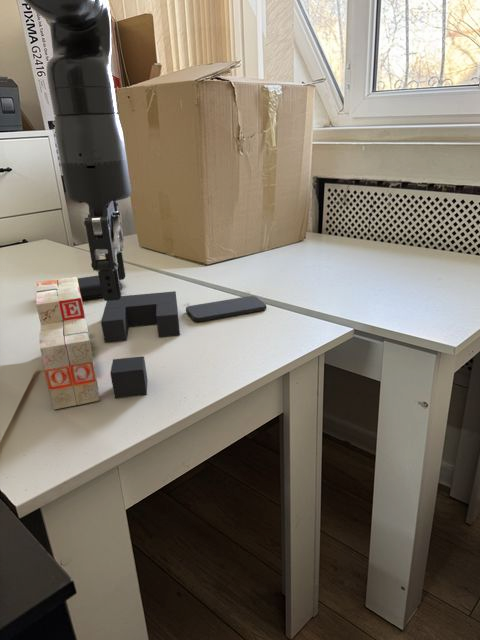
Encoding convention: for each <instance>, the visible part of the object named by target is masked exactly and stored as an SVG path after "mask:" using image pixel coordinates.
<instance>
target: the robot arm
mask: <svg viewBox="0 0 480 640" xmlns="http://www.w3.org/2000/svg"><path fill="white" fill-rule="evenodd" d="M23 1H24V2H25V4H26V5H28V6H29V7H30V8H31V9H32V10H33V11H34V12H35V13H37V14H38V15H39V16H40V17H42V18H44V19H45V20H46V21H48V23H49V30H50V39H51V48H52V49H51V50H52V57H51V58H50V59H49V60H48V62H47V64H46V78H47V79H46V81H47V85H48V90H49V96H50V101H51V106H52V107H51V108H52V111H53V112H52V113H53V115H54V117H53V118H54V127H55V140H56V145H57V151H58V157H59V163H60V168H61V172H62V177H63V182H64V187H65V188H64V189H65V193H66V198H67V199H68V201H70V202H72V203H77V204H78V203H79V204H82V203H85V204H87V205H88V213H87V217H84V221H83V225H84V226H85V232H86V236H87V243H88V248H89V253H90V260H91V264H90V265H91V268H92V271H93V272H96V273H97V275H99V281H100V287H101V292H102V297H101V298H102V299H103V301H106V302H107V301H112V300H119V299H120V298H121V296H122V290H120V283H121V282H120V283H119V281H122V280H125V278H126V268H125V262H124V256H123V251H124V230H123V227H122V226H123V219H122V213H121V211H119V202H118V201H122V200H125V199H128V198H129V197H131V195H132V187H131V186H132V185H131V182H130V181H131V180H130V172H129V165H128V157H127V151H126V144H125V137H124V132H123V128H122V124H121V121H120V115H119V114H118V113H119V109H118V102H117V95H116V88H115V83H114V76H113V72H112V22H111V10H110V2H109V0H23ZM101 255H104V258H102V259H101Z"/></svg>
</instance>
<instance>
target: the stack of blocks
mask: <svg viewBox="0 0 480 640" xmlns="http://www.w3.org/2000/svg"><path fill="white" fill-rule="evenodd" d="M78 278H79V277H78V276H73V277H72V276H71V277H65V278H58V279H50V280H49V279H48V280H43V281H37V282H36V286H35V291H36V292H35V306H36V310H37V314H38V319H39V322H40V331H39V344H40V346H39V349H40V350H39V351H40V354H41V357H42V362H43V367H44V374H45V379H46V383H47V387H48V388H47V389H48V392H49V395H50V400H51V403H52V408H53V410H58V409H64V408H67V407H68V408H69V407H73V406H74V407H75V406H79V405H84V404H88V403H93V402H98V401H100V400H101V399H100V394H99V386H98V380H97V373H96V369H95V363H94V357H93V356H94V355H93V350H92V344H91V339H90V334H89V328H88V326H87V321H86V315H85V308H84V304H83V300H82V298H81V294H80V289H79V284H78Z"/></svg>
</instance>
